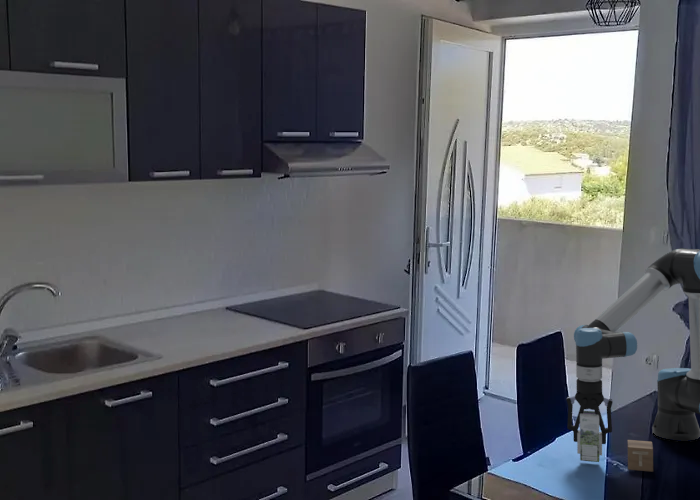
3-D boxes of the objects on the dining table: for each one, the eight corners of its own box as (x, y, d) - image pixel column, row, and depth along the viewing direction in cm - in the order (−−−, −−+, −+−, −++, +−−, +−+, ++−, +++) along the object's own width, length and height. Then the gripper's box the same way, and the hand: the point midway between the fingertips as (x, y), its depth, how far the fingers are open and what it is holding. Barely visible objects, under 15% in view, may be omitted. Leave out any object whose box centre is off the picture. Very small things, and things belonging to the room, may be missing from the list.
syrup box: (599, 456, 229) (599, 410, 228) (599, 462, 223) (599, 415, 222) (580, 455, 231) (580, 409, 230) (579, 461, 225) (579, 414, 224)
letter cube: (627, 461, 229) (627, 439, 228) (652, 464, 226) (651, 441, 226) (628, 470, 222) (627, 447, 222) (653, 472, 220) (653, 449, 219)
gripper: (556, 380, 225) (557, 454, 226) (621, 383, 219) (622, 459, 220) (558, 374, 232) (559, 446, 233) (621, 377, 226) (622, 451, 227)
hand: (589, 452), depth 227 cm, fingers closed on syrup box, 6 cm apart
